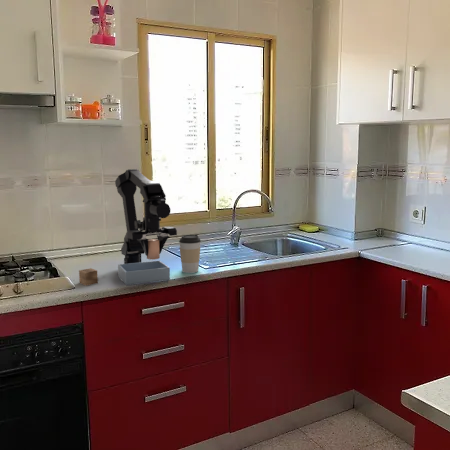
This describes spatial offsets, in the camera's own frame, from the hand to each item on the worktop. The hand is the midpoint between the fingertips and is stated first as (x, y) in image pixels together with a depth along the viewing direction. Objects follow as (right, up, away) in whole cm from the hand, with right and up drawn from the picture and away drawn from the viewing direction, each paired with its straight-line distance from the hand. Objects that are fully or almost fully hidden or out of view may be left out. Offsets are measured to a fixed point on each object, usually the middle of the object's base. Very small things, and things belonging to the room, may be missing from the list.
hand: (153, 254), depth 197 cm
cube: (-24, -11, -4) cm, 27 cm away
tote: (-4, -10, +2) cm, 10 cm away
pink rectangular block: (0, -1, 0) cm, 1 cm away
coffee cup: (+14, -8, +14) cm, 21 cm away
